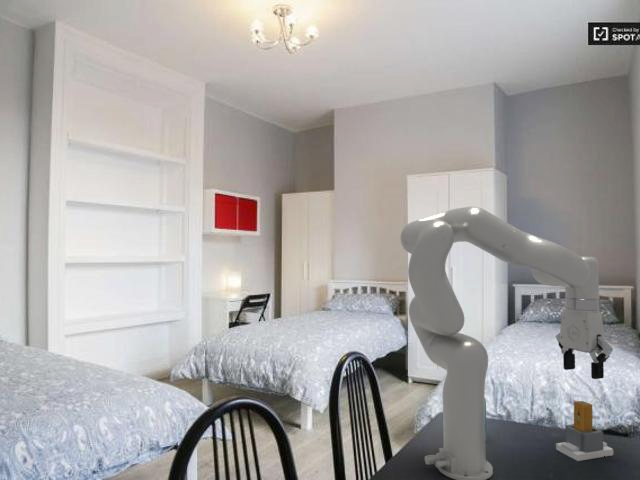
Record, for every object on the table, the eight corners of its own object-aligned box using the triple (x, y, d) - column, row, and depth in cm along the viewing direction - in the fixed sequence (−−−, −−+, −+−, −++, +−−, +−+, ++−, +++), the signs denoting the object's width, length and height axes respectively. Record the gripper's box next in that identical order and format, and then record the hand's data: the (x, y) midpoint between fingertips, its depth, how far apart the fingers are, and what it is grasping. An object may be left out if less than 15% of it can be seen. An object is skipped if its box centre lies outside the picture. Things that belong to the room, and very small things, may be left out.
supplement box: (594, 444, 121) (593, 404, 121) (582, 445, 120) (582, 405, 120) (584, 438, 124) (583, 400, 124) (572, 440, 123) (572, 401, 123)
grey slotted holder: (577, 461, 117) (577, 436, 117) (556, 449, 124) (555, 426, 124) (613, 455, 120) (612, 431, 120) (590, 443, 127) (590, 421, 127)
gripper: (544, 301, 130) (545, 366, 130) (598, 310, 113) (599, 384, 113) (567, 300, 132) (568, 364, 132) (623, 308, 115) (624, 381, 115)
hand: (582, 373), depth 122 cm, fingers open, 8 cm apart
